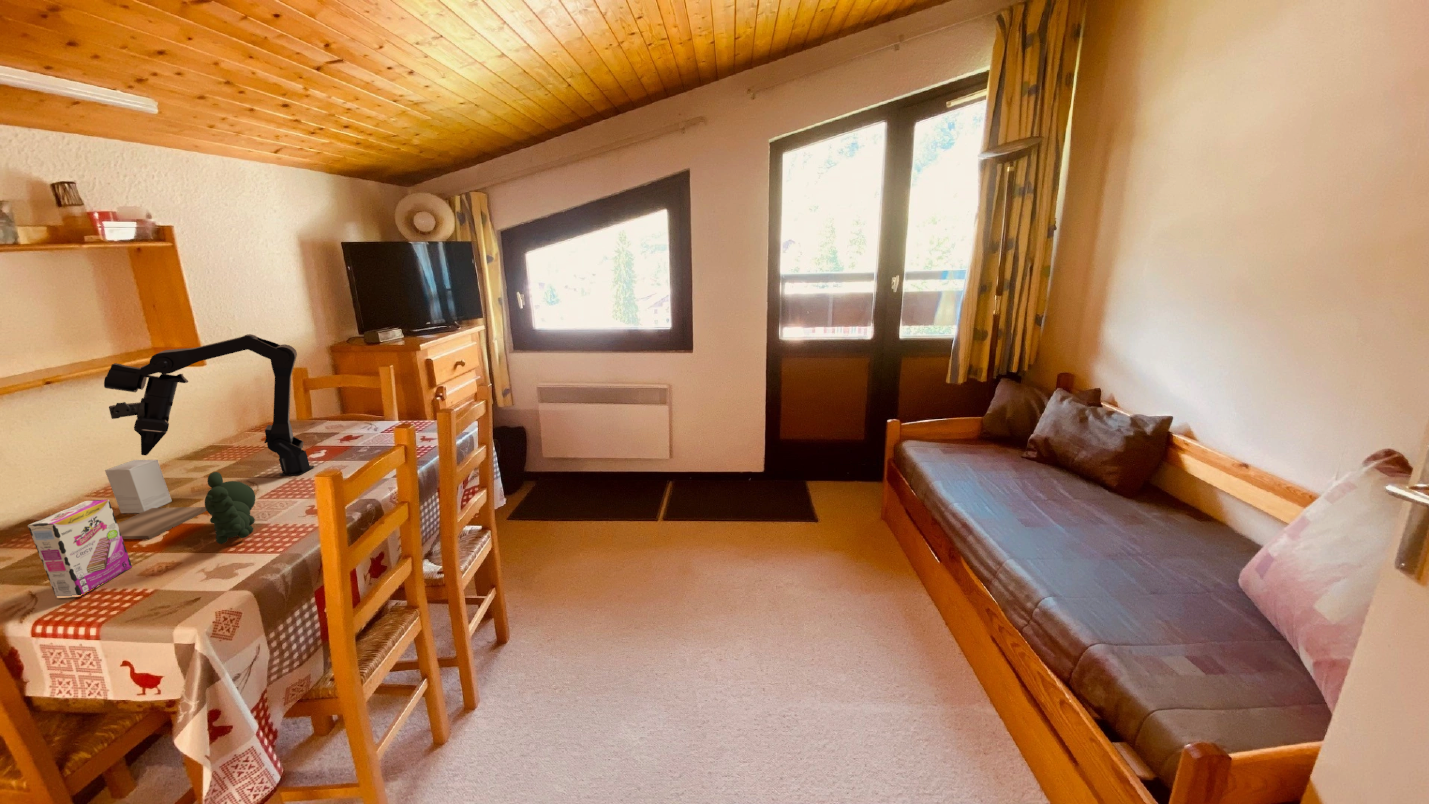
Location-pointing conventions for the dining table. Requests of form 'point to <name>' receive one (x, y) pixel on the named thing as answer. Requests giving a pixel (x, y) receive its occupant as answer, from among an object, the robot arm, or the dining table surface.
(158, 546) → the dining table surface
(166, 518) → the walnut board
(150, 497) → the supplement box
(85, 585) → the candy bar box
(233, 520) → the toy figurine
